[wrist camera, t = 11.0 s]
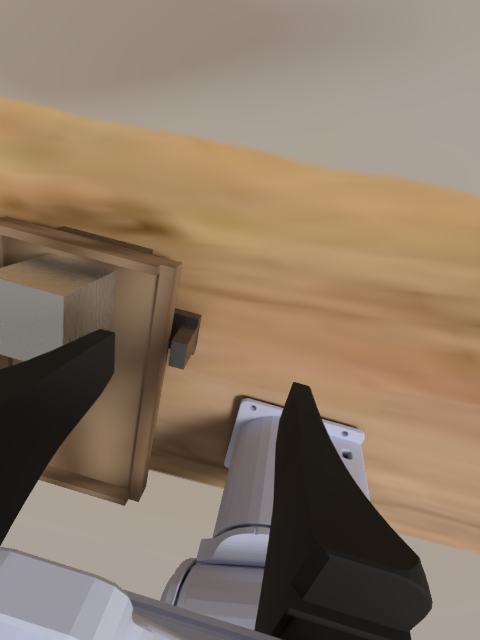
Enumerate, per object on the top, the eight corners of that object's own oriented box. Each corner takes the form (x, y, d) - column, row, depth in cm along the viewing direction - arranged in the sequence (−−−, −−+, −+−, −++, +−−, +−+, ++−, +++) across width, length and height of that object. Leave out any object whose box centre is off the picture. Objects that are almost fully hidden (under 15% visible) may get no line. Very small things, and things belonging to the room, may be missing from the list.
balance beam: (182, 262, 20) (171, 270, 19) (145, 486, 28) (135, 508, 26) (7, 216, 21) (-21, 220, 19) (16, 448, 28) (-4, 466, 26)
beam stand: (209, 264, 22) (196, 283, 19) (180, 439, 30) (168, 468, 28) (9, 212, 23) (-29, 223, 20) (34, 397, 31) (9, 421, 29)
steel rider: (116, 270, 20) (63, 296, 16) (111, 331, 22) (61, 371, 17) (51, 253, 20) (-20, 273, 16) (50, 314, 22) (-14, 350, 17)
